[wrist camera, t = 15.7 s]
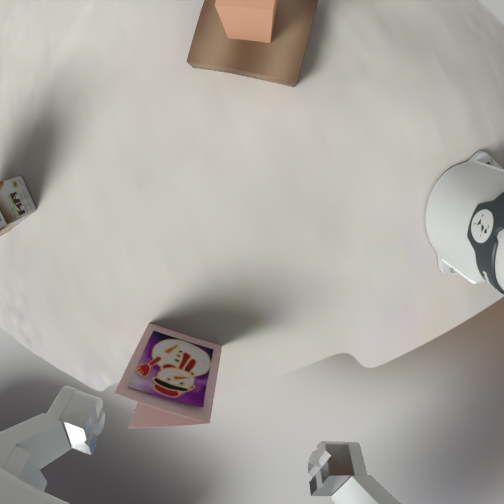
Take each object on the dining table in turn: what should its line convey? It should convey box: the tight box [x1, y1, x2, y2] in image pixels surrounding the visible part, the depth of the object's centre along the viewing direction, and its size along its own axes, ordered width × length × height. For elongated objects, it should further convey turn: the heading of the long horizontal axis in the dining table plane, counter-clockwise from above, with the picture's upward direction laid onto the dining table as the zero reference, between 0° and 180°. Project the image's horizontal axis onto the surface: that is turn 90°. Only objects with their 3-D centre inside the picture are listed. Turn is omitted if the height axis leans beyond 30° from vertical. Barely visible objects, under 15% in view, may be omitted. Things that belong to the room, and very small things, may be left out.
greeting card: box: [115, 323, 222, 428], centre depth 40 cm, size 11×7×15 cm, turn 72°
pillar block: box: [215, 0, 277, 43], centre depth 23 cm, size 4×4×10 cm
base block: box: [187, 0, 318, 87], centre depth 29 cm, size 12×12×4 cm
